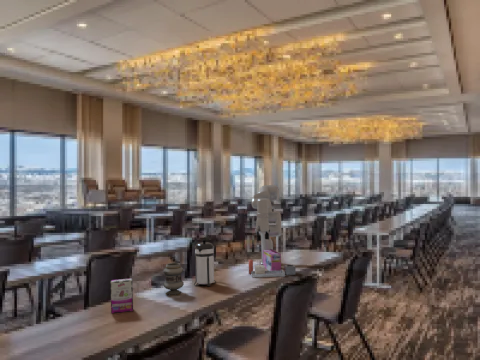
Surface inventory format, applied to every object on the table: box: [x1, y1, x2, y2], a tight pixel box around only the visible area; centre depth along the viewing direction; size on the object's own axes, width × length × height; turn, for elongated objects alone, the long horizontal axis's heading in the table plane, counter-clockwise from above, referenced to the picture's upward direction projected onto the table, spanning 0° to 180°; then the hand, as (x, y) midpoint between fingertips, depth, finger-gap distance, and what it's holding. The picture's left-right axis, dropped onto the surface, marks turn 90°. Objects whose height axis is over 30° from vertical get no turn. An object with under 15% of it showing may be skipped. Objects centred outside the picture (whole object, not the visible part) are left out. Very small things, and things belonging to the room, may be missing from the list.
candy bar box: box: [109, 277, 134, 314], centre depth 208 cm, size 11×5×16 cm, turn 105°
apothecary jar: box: [162, 262, 185, 297], centre depth 240 cm, size 12×12×18 cm
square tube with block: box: [283, 264, 297, 276], centre depth 288 cm, size 12×7×6 cm, turn 2°
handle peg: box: [248, 259, 254, 275], centre depth 289 cm, size 3×3×10 cm
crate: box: [254, 264, 266, 274], centre depth 282 cm, size 7×6×7 cm
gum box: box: [262, 249, 282, 271], centre depth 304 cm, size 24×8×14 cm, turn 14°
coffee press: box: [193, 238, 217, 288], centre depth 262 cm, size 17×16×30 cm
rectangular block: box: [250, 268, 286, 278], centre depth 282 cm, size 10×23×3 cm, turn 92°
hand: (263, 240), depth 284 cm, fingers open, 9 cm apart
